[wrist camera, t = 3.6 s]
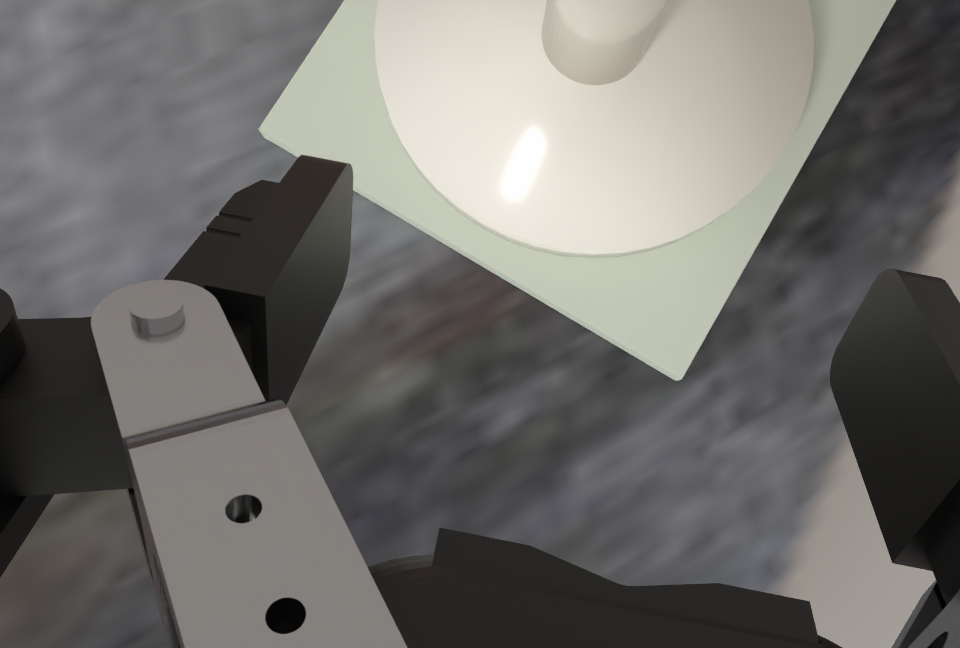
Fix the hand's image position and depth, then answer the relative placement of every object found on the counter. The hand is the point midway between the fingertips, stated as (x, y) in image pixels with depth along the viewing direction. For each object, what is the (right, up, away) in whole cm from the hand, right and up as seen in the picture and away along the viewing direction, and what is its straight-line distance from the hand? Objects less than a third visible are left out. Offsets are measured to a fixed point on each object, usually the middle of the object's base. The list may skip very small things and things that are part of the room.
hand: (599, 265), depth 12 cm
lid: (+2, +9, +16) cm, 18 cm away
